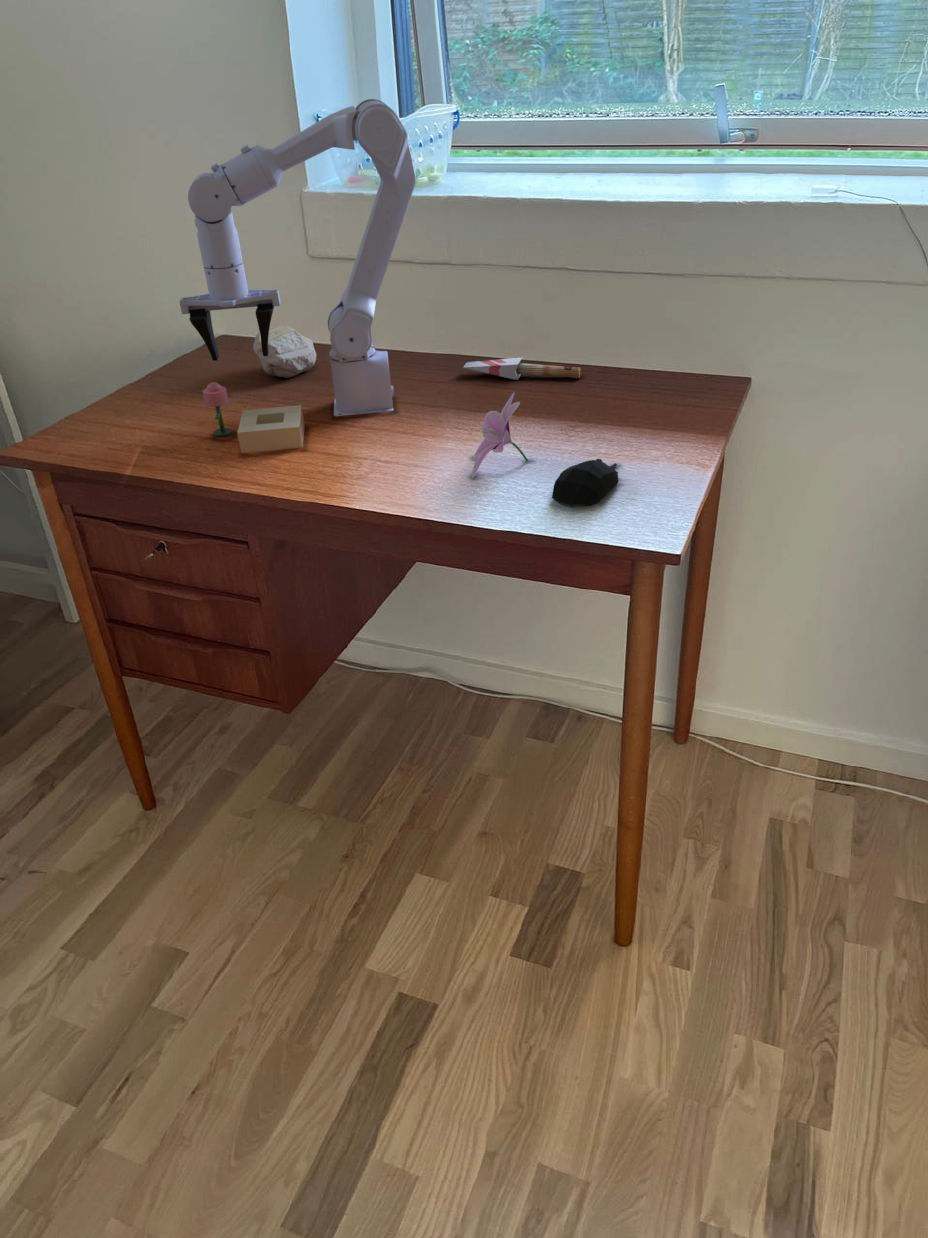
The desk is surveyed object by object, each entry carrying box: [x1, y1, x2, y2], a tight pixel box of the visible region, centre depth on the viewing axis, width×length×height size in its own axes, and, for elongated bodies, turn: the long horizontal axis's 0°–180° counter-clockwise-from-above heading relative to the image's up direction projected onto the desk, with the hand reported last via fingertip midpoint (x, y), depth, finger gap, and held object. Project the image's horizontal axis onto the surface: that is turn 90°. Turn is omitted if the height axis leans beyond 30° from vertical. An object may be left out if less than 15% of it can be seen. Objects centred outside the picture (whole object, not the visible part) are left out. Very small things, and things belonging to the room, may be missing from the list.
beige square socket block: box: [236, 404, 306, 454], centre depth 139 cm, size 9×9×4 cm
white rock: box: [252, 324, 317, 379], centre depth 165 cm, size 12×8×10 cm
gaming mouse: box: [551, 458, 619, 508], centre depth 120 cm, size 6×15×4 cm, turn 147°
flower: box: [202, 381, 234, 439], centre depth 140 cm, size 3×4×9 cm
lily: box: [471, 391, 529, 479], centre depth 127 cm, size 12×12×10 cm
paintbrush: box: [462, 356, 581, 381], centre depth 158 cm, size 4×3×20 cm
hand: (241, 356), depth 142 cm, fingers open, 7 cm apart
